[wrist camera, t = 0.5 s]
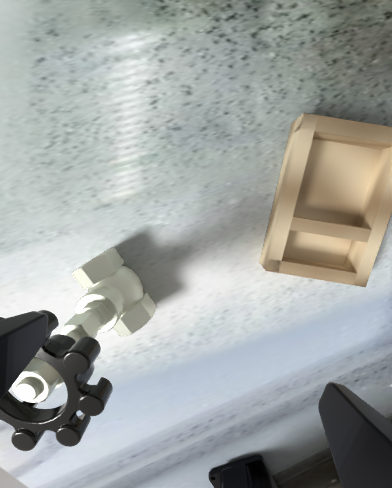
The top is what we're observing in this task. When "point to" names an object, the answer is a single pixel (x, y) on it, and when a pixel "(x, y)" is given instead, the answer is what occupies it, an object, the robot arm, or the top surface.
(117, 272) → the valve
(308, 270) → the holder
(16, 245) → the top surface
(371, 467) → the robot arm
